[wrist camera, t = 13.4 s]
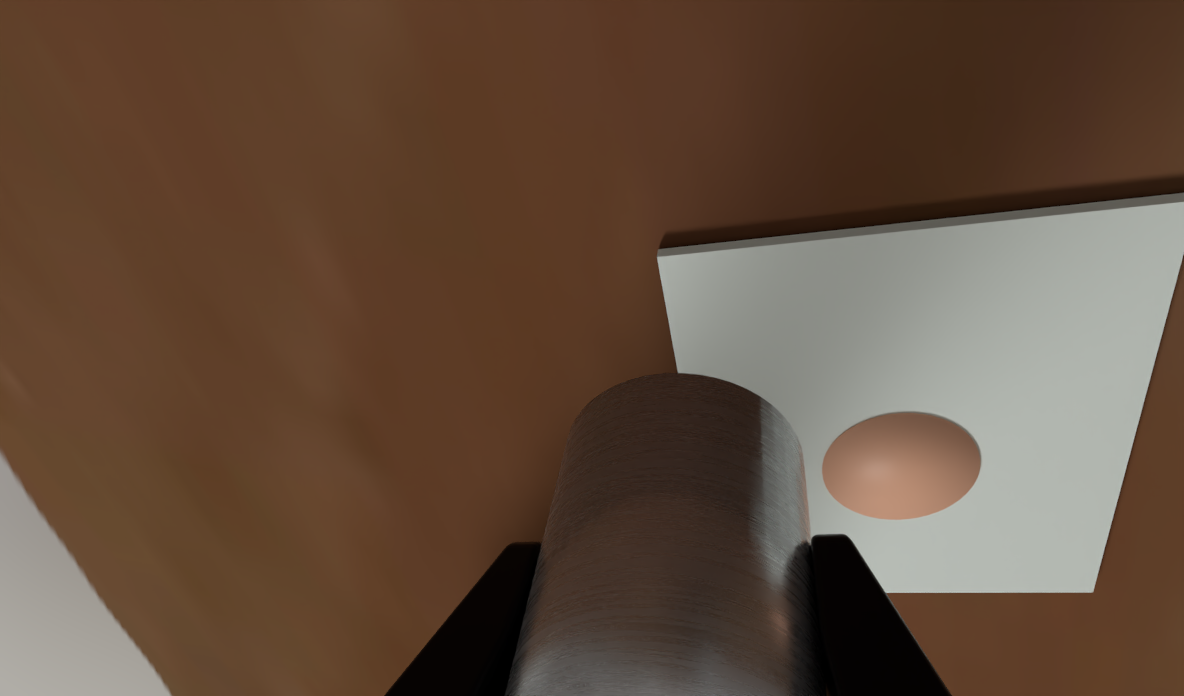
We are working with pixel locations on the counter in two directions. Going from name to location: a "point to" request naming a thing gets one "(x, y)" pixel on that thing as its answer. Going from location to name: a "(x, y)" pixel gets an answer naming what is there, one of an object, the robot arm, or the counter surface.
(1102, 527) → the board
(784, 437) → the pin
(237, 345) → the counter surface
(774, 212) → the counter surface
